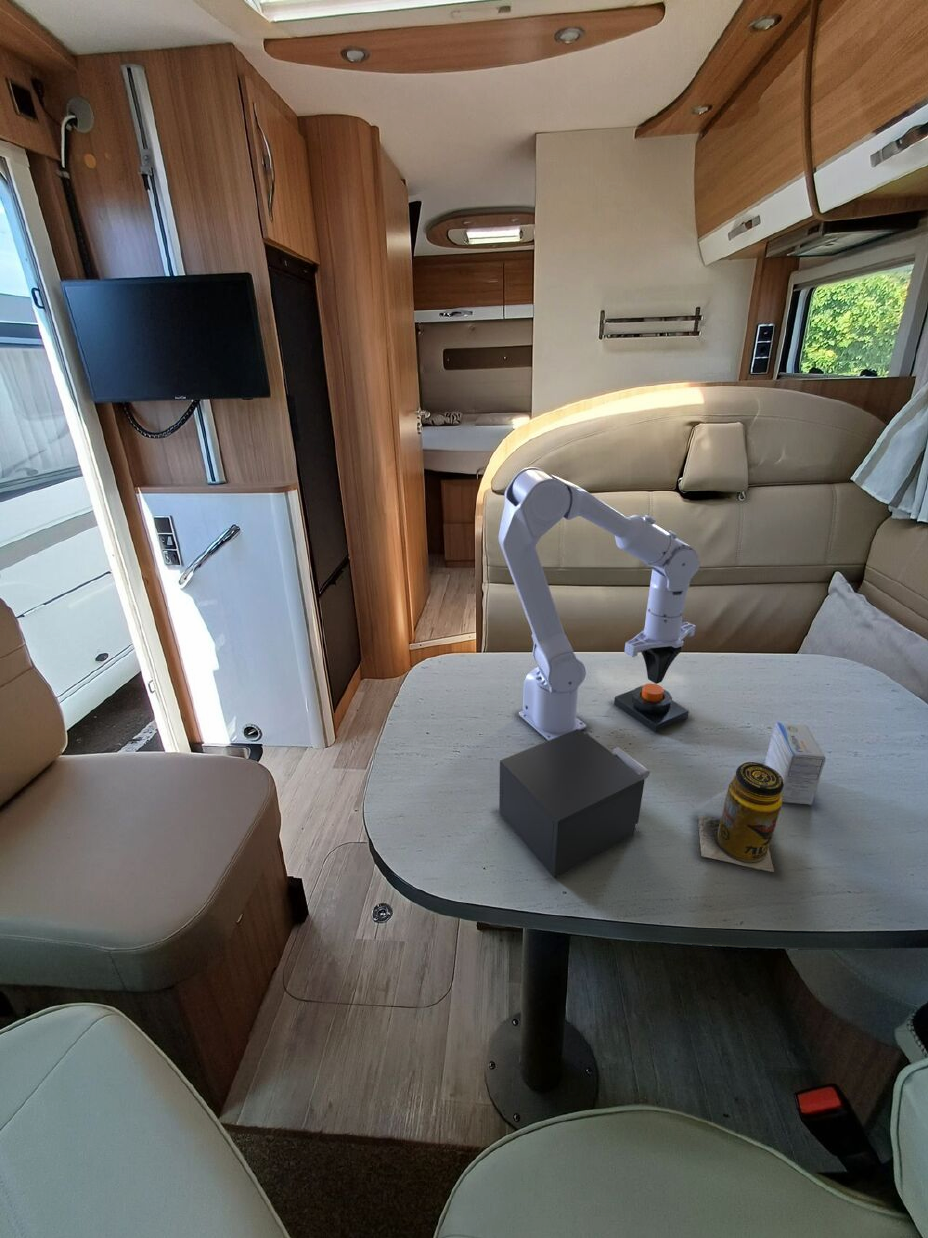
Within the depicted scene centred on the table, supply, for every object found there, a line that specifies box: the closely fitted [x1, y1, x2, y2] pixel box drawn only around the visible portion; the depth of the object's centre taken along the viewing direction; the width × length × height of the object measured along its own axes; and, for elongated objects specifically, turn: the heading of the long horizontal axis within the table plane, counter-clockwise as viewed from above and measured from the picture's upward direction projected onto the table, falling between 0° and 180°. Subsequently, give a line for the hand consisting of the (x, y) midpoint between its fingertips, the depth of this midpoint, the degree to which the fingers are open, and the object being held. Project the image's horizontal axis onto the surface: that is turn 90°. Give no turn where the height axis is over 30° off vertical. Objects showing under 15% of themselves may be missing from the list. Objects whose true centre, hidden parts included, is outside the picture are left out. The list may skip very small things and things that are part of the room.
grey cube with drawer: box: [498, 729, 642, 879], centre depth 75 cm, size 14×13×10 cm
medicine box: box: [764, 721, 826, 806], centre depth 81 cm, size 8×4×9 cm, turn 168°
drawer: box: [584, 732, 651, 825], centre depth 77 cm, size 17×11×8 cm
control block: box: [613, 684, 690, 734], centre depth 100 cm, size 10×8×4 cm
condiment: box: [697, 761, 784, 873], centre depth 71 cm, size 7×8×12 cm
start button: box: [642, 683, 665, 702], centre depth 99 cm, size 4×4×2 cm
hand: (654, 680), depth 98 cm, fingers closed
